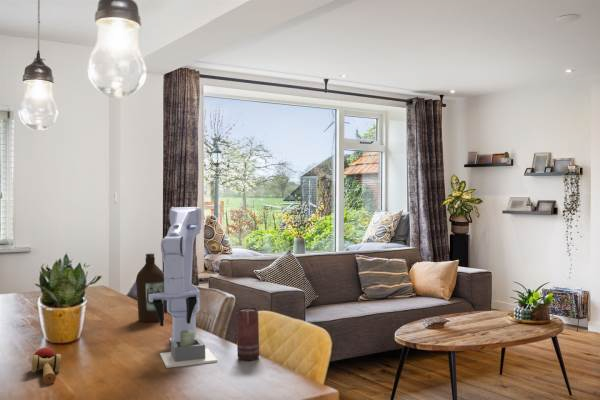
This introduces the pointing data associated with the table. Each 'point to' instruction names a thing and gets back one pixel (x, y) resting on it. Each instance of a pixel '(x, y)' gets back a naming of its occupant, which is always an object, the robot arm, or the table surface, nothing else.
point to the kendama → (46, 364)
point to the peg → (186, 338)
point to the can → (247, 334)
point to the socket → (187, 354)
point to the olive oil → (149, 289)
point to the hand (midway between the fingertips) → (175, 324)
